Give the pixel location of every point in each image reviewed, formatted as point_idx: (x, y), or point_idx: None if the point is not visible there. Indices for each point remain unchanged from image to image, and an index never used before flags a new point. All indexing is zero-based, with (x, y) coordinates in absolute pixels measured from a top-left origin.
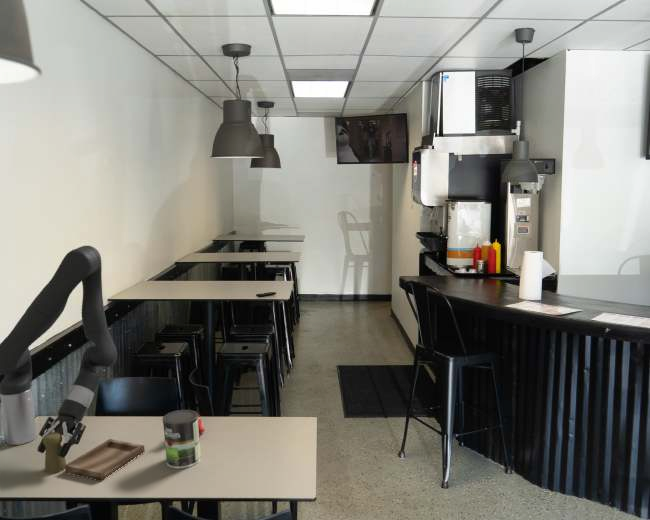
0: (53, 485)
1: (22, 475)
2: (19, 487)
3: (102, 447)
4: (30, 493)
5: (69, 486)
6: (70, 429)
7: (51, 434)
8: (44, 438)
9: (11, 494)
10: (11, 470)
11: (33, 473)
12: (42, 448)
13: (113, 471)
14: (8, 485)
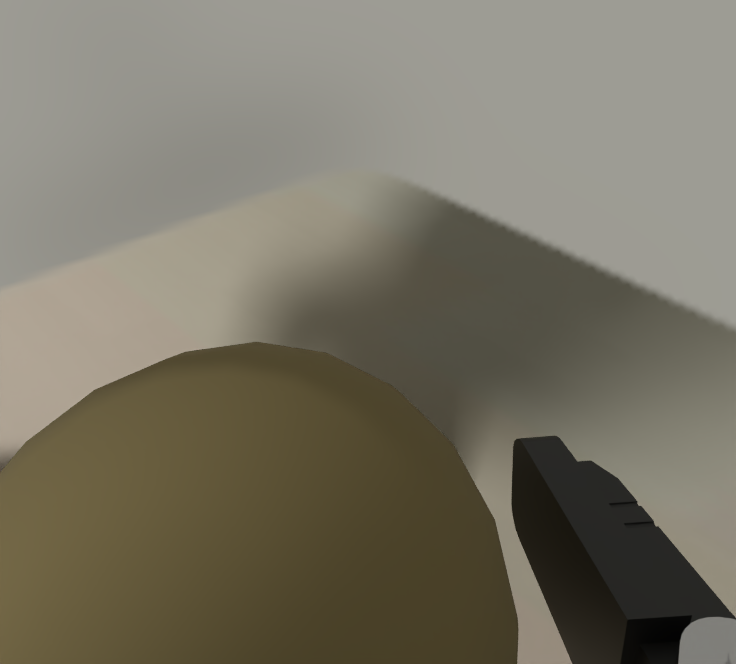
0: (145, 346)
1: (516, 339)
2: (364, 236)
3: None
4: (226, 226)
5: (10, 386)
6: None
7: (139, 592)
8: (292, 356)
9: (334, 177)
10: (695, 351)
11: (464, 398)
12: (535, 513)
13: None
14: (461, 221)
